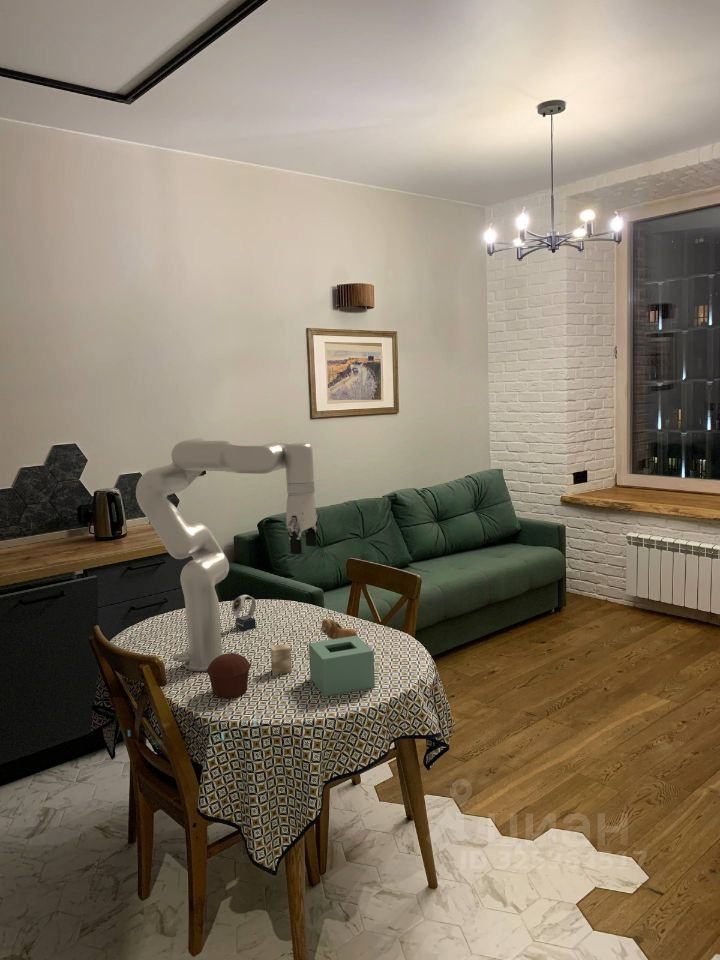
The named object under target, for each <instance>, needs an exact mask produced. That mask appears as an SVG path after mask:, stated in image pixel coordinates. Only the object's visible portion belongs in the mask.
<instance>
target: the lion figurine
mask: <svg viewBox="0 0 720 960" xmlns="http://www.w3.org/2000/svg"><path fill="white" fill-rule="evenodd" d="M320 631H321V633H322V634H324V635H326V636H327V638H328V639H331V640H332V639H339V638H345V637H351V636H358V637H359V635H358V634H357V630H355V629H354V628H344V627H342V626H341V625H340V624H339V623H338V622H337V621H335V620H333V619H331V618H325V619H323V620H321V627H320Z"/></svg>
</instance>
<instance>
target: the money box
mask: <svg viewBox="0 0 720 960" xmlns="http://www.w3.org/2000/svg"><path fill="white" fill-rule="evenodd" d="M374 652H375V651H374V649H372V648H371V647H370V646H369V645H368V644H367V643H366V642H365V641H363V639H361V638H360V637H359V635H358V636H351V637H345V638H339V639H332V638H331V639H327V640H322V641H321V640H320V641H315V642H310V643H308V654H309V658H308V659H309V675H310V679H311V681H312V682H313V684H314V685H315V686H316V688H317V689H318V690H319V691H320V692H321V694H322V696H323V697H328V696H336V695H340V694H341V695H342V694H345V693H351V692H356V691H361V690H367V689H372V688H375V687H376V681H375V680H376V677H375V676H376V675H375V655H374V654H375V653H374Z"/></svg>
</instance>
